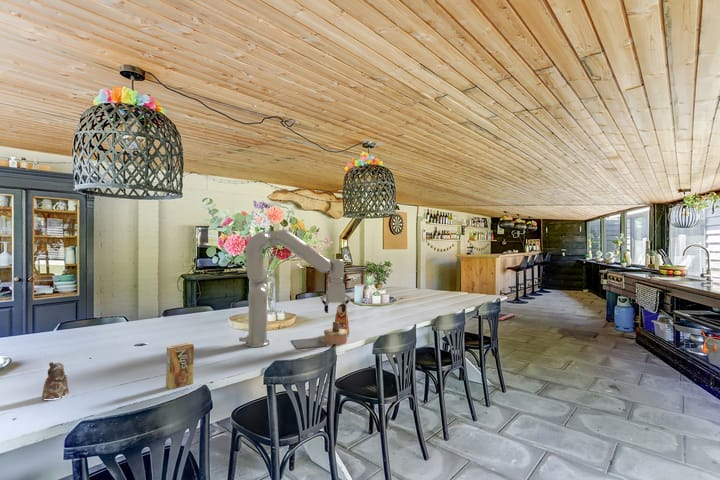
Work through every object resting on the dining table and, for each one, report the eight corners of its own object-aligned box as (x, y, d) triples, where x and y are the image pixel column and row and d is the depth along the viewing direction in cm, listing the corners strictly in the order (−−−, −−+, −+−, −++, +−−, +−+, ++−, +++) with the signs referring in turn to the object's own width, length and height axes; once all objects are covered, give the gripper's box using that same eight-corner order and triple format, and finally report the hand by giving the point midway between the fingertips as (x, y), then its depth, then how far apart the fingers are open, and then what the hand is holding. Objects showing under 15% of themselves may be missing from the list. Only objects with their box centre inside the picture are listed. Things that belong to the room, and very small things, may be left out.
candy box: (189, 380, 149) (189, 342, 149) (193, 383, 146) (194, 344, 146) (165, 386, 142) (166, 346, 142) (169, 390, 140) (170, 349, 139)
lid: (327, 336, 198) (328, 325, 198) (321, 330, 210) (321, 320, 210) (350, 334, 203) (351, 324, 203) (343, 329, 215) (343, 319, 215)
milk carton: (348, 336, 218) (349, 302, 218) (332, 336, 218) (333, 302, 218) (349, 332, 227) (350, 299, 227) (334, 332, 228) (334, 299, 227)
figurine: (50, 402, 128) (50, 367, 128) (37, 399, 130) (37, 364, 130) (72, 394, 134) (73, 361, 134) (60, 391, 137) (60, 358, 137)
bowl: (328, 345, 199) (328, 336, 199) (322, 339, 210) (322, 331, 210) (349, 343, 204) (349, 334, 204) (342, 338, 215) (342, 329, 215)
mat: (297, 349, 192) (297, 348, 192) (291, 341, 207) (291, 340, 207) (327, 346, 198) (327, 345, 198) (319, 338, 213) (319, 337, 213)
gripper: (323, 282, 200) (321, 314, 200) (353, 282, 206) (351, 313, 206) (319, 280, 207) (317, 311, 207) (348, 280, 213) (347, 310, 213)
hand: (334, 312), depth 207 cm, fingers open, 9 cm apart
